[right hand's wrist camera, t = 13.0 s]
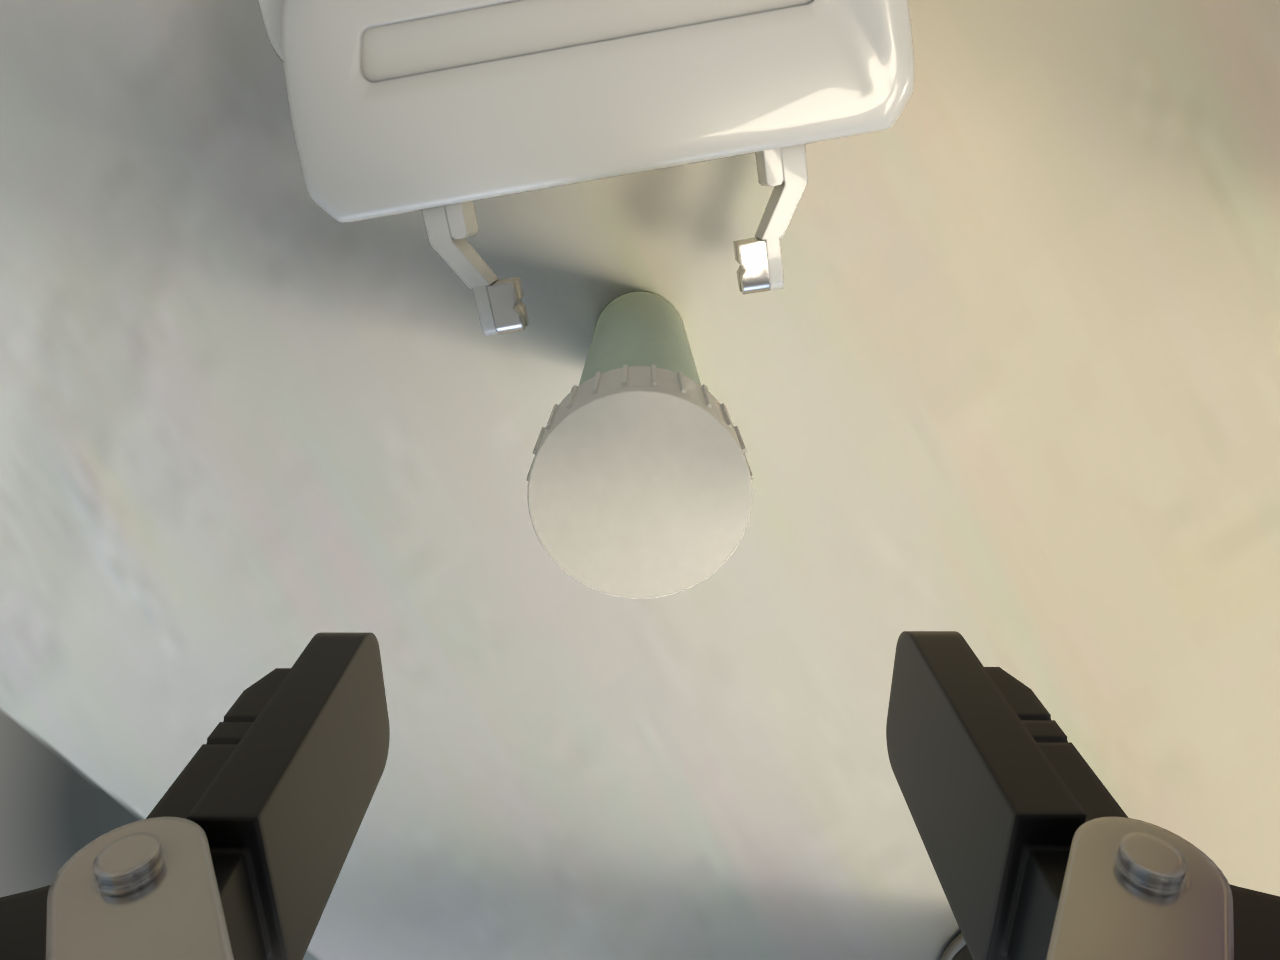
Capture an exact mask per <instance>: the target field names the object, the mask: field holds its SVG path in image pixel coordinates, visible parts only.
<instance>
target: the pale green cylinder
mask: <svg viewBox="0 0 1280 960" xmlns="http://www.w3.org/2000/svg"><path fill="white" fill-rule="evenodd" d="M651 364H653V365H656V367H657V368H662V369H667V370H670V371H673V372H676V373H678V372H679V371H681V372H683V375H684V376H686V377H688V378H690V379H692V380H693V381H695V382H696V383H698V384H699V385H701V383H700V380H699V376H698V373H697V369H696V366H695V362H694V359H693V355H692V352H691V348H690V345H689V341H688V338H687V335H686V331H685V328H684V324H683V321H682V319H681V317H680V314H679V313H678V311H677V310H676V309H675V307H674V306H673V305H672V304H671V303H670V302H669V301H667V300H666V299H664V298H663V297H661V296H659V295H657V294H654V293H650V292H643V291H637V292H630V293H626V294H623V295H621V296H619V297H617V298H616V299H614V300H613V301H611V302H610V303H609V304H608V305H607V306H606V307H605V309H604V310H603V311H602V313H601V314H600V317H599V319H598V321H597V324H596V328H595V331H594V335H593V338H592V342H591V345H590V348H589V352H588V355H587V359H586V362H585V366H584V369H583V373H582V376H581V380H580V383H579V385H581V384H582V383H584V382H585V381H587V380H588V379H590V378H592V377H594V376H595V375H596V373H597V372H599V371H600V373H604V372H607V371H610V370H613V369H618V368H623V365H628V367H632V366H648V367H651Z"/></svg>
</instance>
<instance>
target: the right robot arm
mask: <svg viewBox="0 0 1280 960" xmlns="http://www.w3.org/2000/svg"><path fill="white" fill-rule="evenodd" d="M1050 716H1051V715H1050V714H1049V713H1048V711H1047V710H1046V709H1045V707H1044V706H1043V705H1042V703H1041V702H1040V701H1039V699H1038V698H1037V697H1036V695H1035V694H1034V693H1033V691H1032V690H1031V689H1030V688H1028V687H1027V686H1025V685H1024V684H1023V683H1021V682H1020V681H1018V680H1017V679H1015V678H1014V677H1013V676H1011V675H1010V674H1008V673H1007V672H1005V671H1004V670H1002V669H1001V668H1000V667H983V665H982V664H981V662H980V661H979V659H978V658H977V657H976V655H975V654H974V652H973V651H972V649H971V648H970V647H969V645H968V644H967V642H966V641H965V639H964V638H963V637H962V635H961V634H960V633H958V632H955V631H905V632H902V633H901V635H900V636H899V639H898V642H897V647H896V654H895V662H894V670H893V678H892V685H891V693H890V701H889V709H888V717H887V728H886V735H887V748H888V754H889V759H890V763H891V767H892V770H893V772H894V775H895V777H896V779H897V782H898V784H899V786H900V789H901V791H902V793H903V796H904V798H905V800H906V803H907V805H908V808H909V810H910V812H911V815H912V817H913V819H914V822H915V824H916V826H917V829H918V831H919V834H920V836H921V838H922V841H923V843H924V845H925V848H926V850H927V852H928V855H929V857H930V859H931V862H932V864H933V867H934V869H935V871H936V874H937V876H938V878H939V881H940V883H941V885H942V888H943V890H944V893H945V895H946V897H947V900H948V902H949V904H950V907H951V909H952V911H953V914H954V916H955V918H956V921H957V923H958V926H959V928H960V930H961V933H960V934H959V935H958V936H957V937H956V938H955V939H954V940H953V941H952V942H951V943H950V944H949V945H948V947H947V948H946V949H945V951H944V953H943V954H942V956H941V959H940V960H1280V897H1279V896H1275V895H1271V894H1266V893H1262V892H1258V891H1254V890H1250V889H1245V888H1241V887H1237V886H1234V885H1230V884H1229V883H1228V881H1227V879H1226V878H1225V876H1224V875H1223V873H1222V871H1221V870H1220V869H1219V868H1218V867H1217V866H1216V864H1215V863H1214V862H1213V861H1212V860H1211V859H1210V858H1209V857H1208V856H1207V855H1205V854H1204V853H1203V852H1202V851H1201V850H1199V849H1198V848H1197V847H1195V846H1194V845H1193V844H1191V843H1190V842H1188V841H1186V840H1185V839H1183V838H1181V837H1180V836H1178V835H1176V834H1174V833H1172V832H1170V831H1168V830H1166V829H1163V828H1161V827H1159V826H1156V825H1154V824H1150V823H1147V822H1144V821H1141V820H1136V819H1131V818H1128V817H1127V815H1126V814H1125V813H1124V811H1123V810H1122V809H1121V807H1120V806H1119V805H1118V803H1117V802H1116V801H1115V800H1114V798H1113V797H1112V796H1111V794H1110V793H1109V792H1108V790H1107V789H1106V788H1105V786H1104V785H1103V784H1102V782H1101V781H1100V780H1099V778H1098V777H1097V776H1096V774H1095V773H1094V772H1093V771H1092V769H1091V768H1090V767H1089V765H1088V764H1087V763H1086V761H1085V760H1084V759H1083V757H1082V756H1081V755H1080V753H1079V752H1078V751H1077V749H1076V748H1075V747H1074V745H1073V744H1072V743H1068V742H1067V736H1066V735H1065V734H1064V732H1063V731H1062V730H1061V728H1060V727H1059V726H1058V724H1057V723H1056V722H1055V720H1051V717H1050ZM388 748H389V719H388V711H387V704H386V696H385V688H384V681H383V673H382V665H381V657H380V650H379V644H378V641H377V638H376V636H375V635H374V634H373V633H317V634H316V635H315V636H314V637H313V638H312V640H311V641H310V643H309V644H308V645H307V647H306V648H305V650H304V651H303V652H302V654H301V655H300V657H299V658H298V660H297V661H296V662H295V664H294V665H293V667H292V668H276V669H275V670H273V671H272V672H270V673H269V674H268V675H266V676H265V677H263V678H262V679H260V680H259V681H257V682H256V683H255V684H253V685H252V686H250V687H249V688H247V689H246V690H244V691H243V693H242V694H241V695H240V697H239V698H238V699H237V701H236V702H235V703H234V705H233V706H232V707H231V708H230V710H229V711H228V712H227V714H226V715H225V716H224V722H220V723H219V724H218V725H217V727H216V728H215V729H214V731H213V732H212V733H211V735H210V736H209V737H208V738H207V744H203V745H202V746H201V748H200V749H199V750H198V752H197V753H196V754H195V755H194V757H193V758H192V759H191V761H190V762H189V763H188V765H187V766H186V767H185V768H184V770H183V771H182V772H181V774H180V775H179V776H178V778H177V779H176V780H175V782H174V783H173V784H172V785H171V787H170V788H169V789H168V791H167V792H166V793H165V795H164V796H163V797H162V799H161V800H160V801H159V802H158V804H157V805H156V806H155V808H154V809H153V810H152V812H151V813H150V814H149V815H148V817H147V818H146V819H144V820H139V821H136V822H133V823H130V824H126V825H124V826H121V827H119V828H117V829H114V830H112V831H110V832H108V833H106V834H104V835H102V836H100V837H99V838H97V839H95V840H94V841H92V842H90V843H89V844H87V845H86V846H85V847H83V848H82V849H81V850H79V851H78V852H77V853H76V854H75V855H73V856H72V857H71V858H70V859H69V860H68V861H67V862H66V863H65V864H64V866H63V867H62V868H61V869H60V870H59V871H58V873H57V875H56V876H55V878H54V879H53V881H52V883H51V885H49V886H45V887H42V888H38V889H35V890H31V891H27V892H22V893H18V894H14V895H10V896H5V897H1V898H0V960H302V959H303V957H304V955H305V952H306V950H307V948H308V945H309V943H310V941H311V938H312V936H313V934H314V932H315V929H316V927H317V925H318V922H319V920H320V918H321V915H322V913H323V911H324V908H325V906H326V904H327V901H328V899H329V897H330V894H331V892H332V890H333V887H334V885H335V883H336V880H337V878H338V876H339V873H340V871H341V869H342V866H343V864H344V862H345V859H346V857H347V855H348V852H349V850H350V848H351V845H352V843H353V841H354V838H355V836H356V834H357V831H358V829H359V827H360V824H361V822H362V820H363V817H364V815H365V813H366V810H367V808H368V806H369V803H370V801H371V799H372V797H373V794H374V792H375V790H376V787H377V785H378V783H379V780H380V778H381V776H382V773H383V771H384V768H385V764H386V760H387V755H388Z"/></svg>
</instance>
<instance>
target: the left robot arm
mask: <svg viewBox="0 0 1280 960" xmlns="http://www.w3.org/2000/svg"><path fill="white" fill-rule="evenodd" d="M258 2H259V6H260V9H261V13H262V17H263V20H264V24H265V27H266V31H267V34H268V37H269V40H270V42H271V44H272V46H273V49H274V51H275V52H276V54H277V55H278V57H279V58H280V60H281V61H282V62H283V63H284V71H285V79H286V87H287V95H288V101H289V108H290V114H291V120H292V126H293V131H294V136H295V141H296V146H297V151H298V156H299V160H300V164H301V169H302V173H303V177H304V181H305V185H306V188H307V190H308V193H309V195H310V197H311V198H312V199H313V201H314V202H315V203H316V204H318V205H319V206H320V207H321V208H322V209H323V210H325V211H326V212H327V213H328V214H329V215H330V216H332V217H333V218H334V219H336V220H337V221H339V222H344V223H345V222H355V221H361V220H366V219H372V218H378V217H384V216H390V215H396V214H402V213H408V212H413V211H419V210H422V214H423V219H424V223H425V227H426V231H427V235H428V239H429V243H430V245H431V246H432V248H433V249H434V250H435V251H436V252H437V253H438V254H439V255H440V257H441V258H442V259H443V260H444V261H445V262H446V263H447V264H448V266H449V267H450V268H451V269H452V270H453V271H454V272H455V273H456V275H457V276H458V277H459V278H460V279H461V280H462V281H463V282H464V284H465V285H466V286H467V287H468V288H469V289H471V288H473V292H474V296H475V301H476V305H477V309H478V314H479V318H480V322H481V327H482V330H483V332H484V334H485V336H490V335H498V334H502V333H508V332H513V331H519V330H525V327H526V326H528V315H527V309H526V306H525V305H524V304H523V303H522V302H521V299H522V296H523V290H522V285H521V281H520V277H514V278H507V279H500V280H497V279H498V278H497V276H496V275H495V274H494V273H493V271H492V270H491V269H490V268H489V267H488V265H487V264H486V263H485V262H484V261H483V259H482V258H481V257H480V256H479V254H478V253H477V252H476V251H475V250H474V248H473V247H472V246H471V245H470V243H469V242H468V241H467V240H466V239H465V238H466V237H469V236H472V235H475V234H477V232H478V231H479V228H478V223H477V219H476V214H475V209H474V204H473V201H475V200H481V199H486V198H492V197H498V196H504V195H510V194H516V193H521V192H527V191H533V190H539V189H545V188H551V187H557V186H562V185H568V184H574V183H580V182H586V181H592V180H597V179H603V178H609V177H615V176H621V175H627V174H632V173H638V172H644V171H650V170H656V169H662V168H667V167H673V166H679V165H685V164H691V163H697V162H702V161H708V160H714V159H720V158H726V157H732V156H737V155H743V154H749V153H755V155H756V164H757V172H758V181H759V184H761V185H762V186H775V187H774V189H773V192H772V194H771V197H770V199H769V202H768V204H767V207H766V209H765V212H764V214H763V217H762V219H761V222H760V224H759V227H758V229H757V232H756V234H755V237H754V238H749V239H743V240H738V241H733V243H734V252H735V260H736V261H737V262H738V263H739V264H740V266H739V268H738V270H737V278H738V284H739V289H740V291H741V292H742V294H749V293H756V292H762V291H769V290H775V289H782V288H783V285H784V275H783V264H782V254H781V244H780V238H781V237H784V235H785V232H786V230H787V228H788V225H789V223H790V221H791V219H792V216H793V214H794V212H795V209H796V207H797V205H798V203H799V200H800V198H801V196H802V193H803V191H804V189H805V187H806V184H807V182H808V177H807V164H806V151H805V144H810V143H816V142H822V141H828V140H834V139H839V138H845V137H851V136H857V135H863V134H869V133H874V132H880V131H883V130H887V129H889V128H891V127H892V126H893V125H894V124H895V123H896V121H897V120H898V118H899V117H900V115H901V114H902V112H903V110H904V109H905V107H906V105H907V103H908V102H909V100H910V98H911V96H912V93H913V89H914V54H913V40H912V29H911V18H910V10H909V2H908V0H258Z"/></svg>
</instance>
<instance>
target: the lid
mask: <svg viewBox="0 0 1280 960" xmlns="http://www.w3.org/2000/svg"><path fill="white" fill-rule="evenodd" d="M746 452H747V450H746V448H745V445H744V443H743V440H742V437H741V435H740V432H739V430H738V427H737V426H735V427H734V426H733V424H732V422H731V419H730V416H729V414H728V411H727V408H726V406H725V404H724V403H723V404H720V403H719V402H718V401H717V400H716V398H715V397H714V396H713V395H712V394H711V393H709V392H708V389H707V386H705V385H704V384H703V385H702V386H701V385H699V384H698V383H696V382H695V381H693V380H692V379H690V378H688V377H686V376H684V375H683V372H681V371H679V372H678V373H676V372H673V371H670V370H667V369H662V368H657V367H656V365H653V364H651V367H648V366H632V367H628V365H623V368H618V369H613V370H610V371H607V372H604V373H600V371H599V372H597V373H596V375H595V376H594V377H592V378H590V379H588V380H587V381H585V382H584V383H582V384H581V385H579V386H578V387H577V386H576V385H574V386H573V387H572V390H571V393H569V394H568V395H567V396H566V397H565V398H564V400H563V401H562V402H561V403H560V404H559V405H557V404H555V406H554V407H553V410H552V413H551V415H550V418H549V421H548V423H547V426H546V428H544V427H542V430H541V432H540V435H539V437H538V440H537V443H536V445H535V448H534V450H533V454H535V457H534V460H533V462H532V465H531V468H530V470H529V473H528V476H527V481H529V482H528V506H529V514H530V517H531V521H532V525H533V528H534V530H535V532H536V535H537V537H538V539H539V541H540V543H541V544H542V546H543V548H544V549H545V551H546V552H547V554H548V555H549V556H550V557H551V559H552V560H553V561H554V562H555V563H556V564H557V565H558V566H559V567H560V568H561V569H562V570H563V571H564V572H565V573H567V574H568V575H569V576H571V577H572V578H573V579H575V580H576V581H578V582H580V583H582V584H583V585H585V586H587V587H589V588H591V589H594V590H596V591H598V592H601V593H605V594H608V595H611V596H616V597H622V598H631V599H648V598H658V597H663V596H669V595H672V594H675V593H679V592H682V591H684V590H686V589H689V588H691V587H693V586H695V585H697V584H698V583H700V582H702V581H703V580H705V579H707V578H708V577H709V576H711V575H712V574H713V573H714V572H716V571H717V570H718V569H719V568H720V567H721V566H722V565H723V564H724V563H725V562H726V561H727V560H728V559H729V557H730V556H731V555H732V553H733V552H734V551H735V549H736V548H737V546H738V544H739V543H740V541H741V539H742V537H743V535H744V532H745V530H746V528H747V525H748V521H749V517H750V513H751V506H752V482H751V480H753V475H752V472H751V470H750V467H749V464H748V462H747V459H746V456H745V454H744V453H746Z"/></svg>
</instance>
